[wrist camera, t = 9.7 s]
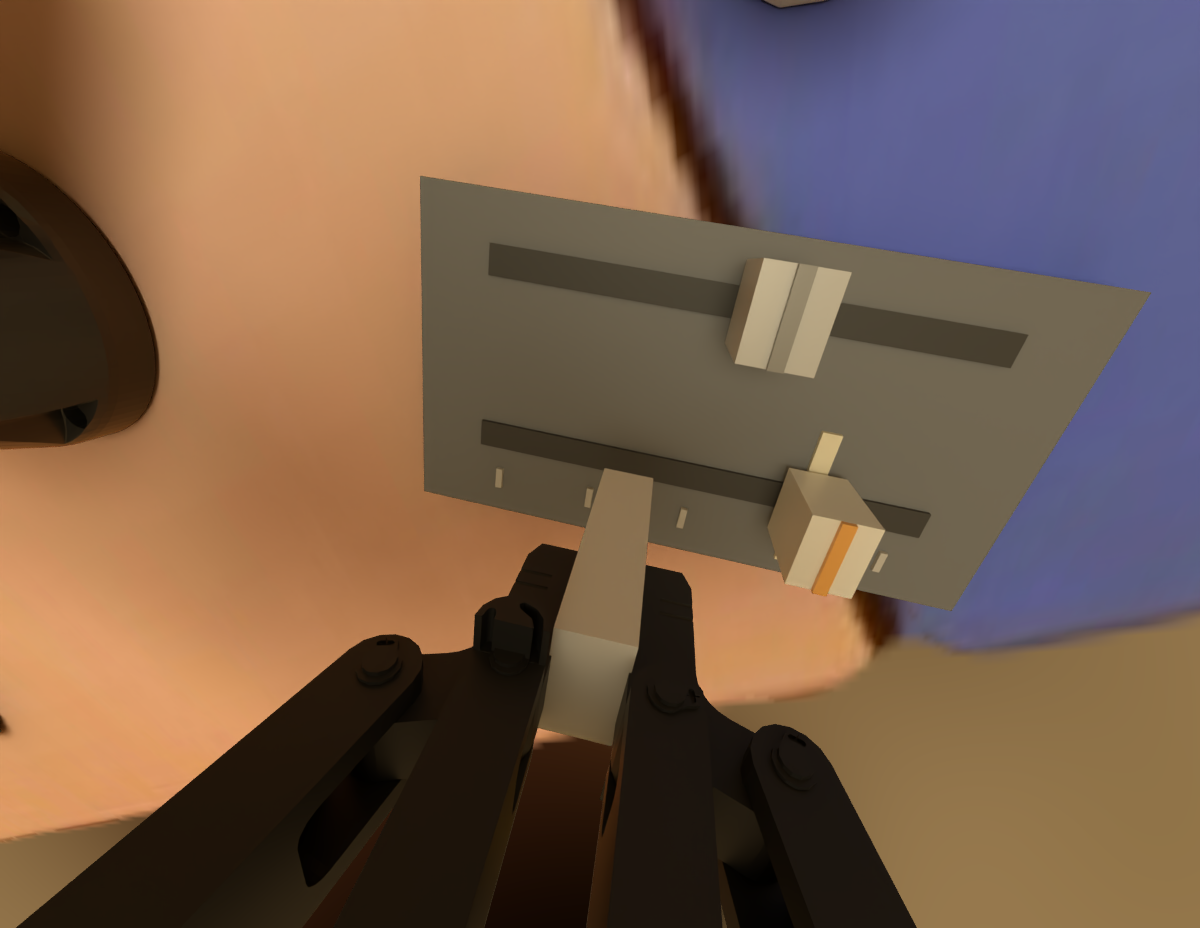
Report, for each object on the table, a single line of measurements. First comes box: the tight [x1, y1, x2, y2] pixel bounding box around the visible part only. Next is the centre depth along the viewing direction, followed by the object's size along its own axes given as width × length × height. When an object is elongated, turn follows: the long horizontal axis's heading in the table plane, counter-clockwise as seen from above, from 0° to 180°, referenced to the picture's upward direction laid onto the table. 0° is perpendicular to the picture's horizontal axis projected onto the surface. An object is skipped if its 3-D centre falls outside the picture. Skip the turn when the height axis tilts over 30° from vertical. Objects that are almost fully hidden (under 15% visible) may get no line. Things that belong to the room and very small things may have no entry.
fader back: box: [767, 468, 885, 599], centre depth 18 cm, size 2×3×4 cm
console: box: [420, 176, 1151, 611], centre depth 20 cm, size 26×14×2 cm, turn 81°
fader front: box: [725, 258, 852, 378], centre depth 15 cm, size 2×3×4 cm
